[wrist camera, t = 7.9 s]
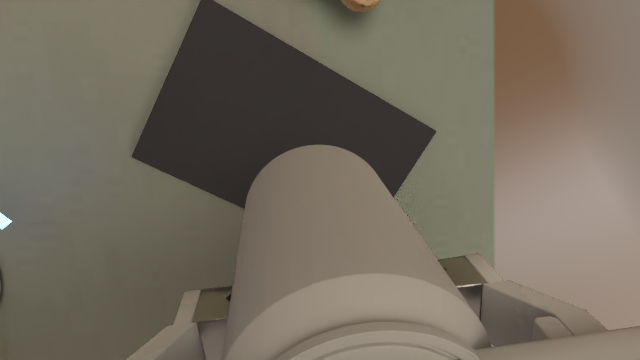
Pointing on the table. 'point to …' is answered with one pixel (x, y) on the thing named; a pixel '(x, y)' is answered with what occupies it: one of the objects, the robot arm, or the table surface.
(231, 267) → the table surface
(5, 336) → the table surface
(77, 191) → the table surface
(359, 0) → the pottery oil lamp
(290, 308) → the beverage can
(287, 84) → the mat
